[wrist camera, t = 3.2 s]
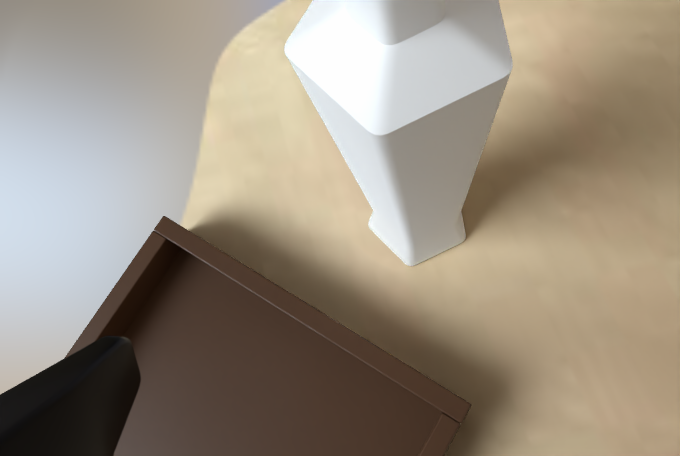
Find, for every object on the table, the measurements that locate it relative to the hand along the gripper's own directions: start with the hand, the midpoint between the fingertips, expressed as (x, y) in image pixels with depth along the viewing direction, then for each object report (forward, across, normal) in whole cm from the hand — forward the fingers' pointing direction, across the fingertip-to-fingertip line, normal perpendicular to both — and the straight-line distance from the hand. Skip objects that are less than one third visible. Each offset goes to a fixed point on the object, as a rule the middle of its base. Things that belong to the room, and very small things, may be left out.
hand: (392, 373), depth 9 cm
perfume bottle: (+14, 0, +4) cm, 15 cm away
